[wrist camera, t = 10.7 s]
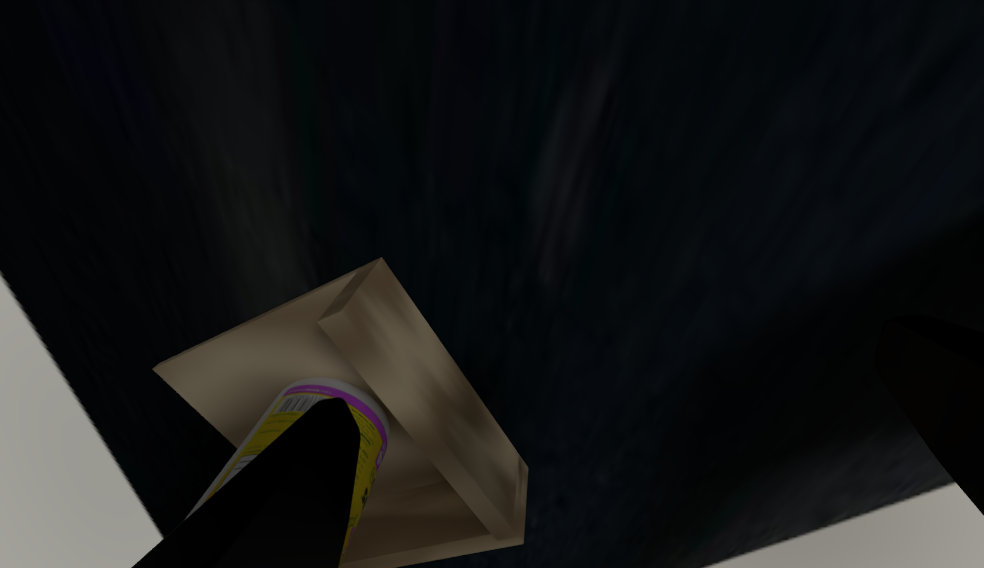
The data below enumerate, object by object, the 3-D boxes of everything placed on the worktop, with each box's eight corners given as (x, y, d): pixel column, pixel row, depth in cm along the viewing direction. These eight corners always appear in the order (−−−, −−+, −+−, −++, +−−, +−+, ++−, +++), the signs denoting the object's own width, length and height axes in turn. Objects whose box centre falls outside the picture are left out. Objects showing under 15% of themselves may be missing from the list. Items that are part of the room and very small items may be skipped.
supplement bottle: (346, 470, 28) (207, 763, 17) (259, 405, 26) (35, 689, 15) (418, 426, 25) (309, 744, 14) (326, 350, 23) (113, 650, 12)
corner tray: (528, 467, 26) (523, 543, 22) (322, 518, 32) (290, 586, 28) (381, 257, 20) (340, 311, 17) (159, 363, 26) (89, 423, 22)
